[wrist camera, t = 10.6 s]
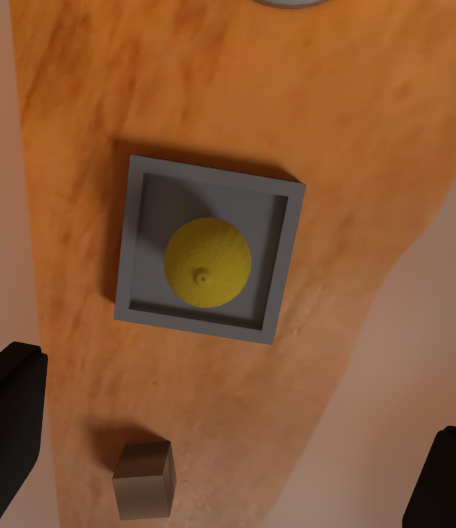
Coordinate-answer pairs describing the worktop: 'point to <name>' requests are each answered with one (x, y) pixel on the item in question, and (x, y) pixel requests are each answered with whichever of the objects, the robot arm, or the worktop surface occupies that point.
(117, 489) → the metal cube
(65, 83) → the worktop surface
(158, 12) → the worktop surface
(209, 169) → the dish
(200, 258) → the lemon
